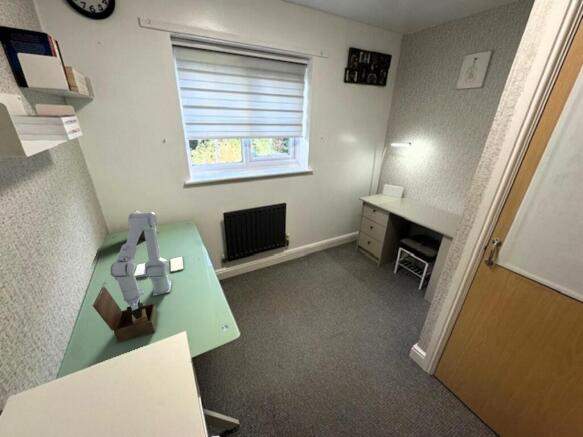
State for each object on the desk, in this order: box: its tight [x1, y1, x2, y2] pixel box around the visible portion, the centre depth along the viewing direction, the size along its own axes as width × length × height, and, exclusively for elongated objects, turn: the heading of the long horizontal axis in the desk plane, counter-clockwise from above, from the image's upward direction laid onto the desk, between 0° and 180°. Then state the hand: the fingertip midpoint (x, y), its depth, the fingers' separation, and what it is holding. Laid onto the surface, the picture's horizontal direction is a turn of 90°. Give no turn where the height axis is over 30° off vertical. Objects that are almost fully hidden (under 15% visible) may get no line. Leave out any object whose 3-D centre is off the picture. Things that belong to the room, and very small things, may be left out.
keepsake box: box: [113, 302, 159, 343], centre depth 102 cm, size 13×11×6 cm
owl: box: [132, 209, 159, 240], centre depth 175 cm, size 13×13×20 cm
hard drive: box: [134, 262, 147, 279], centre depth 139 cm, size 2×8×12 cm
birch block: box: [132, 309, 148, 325], centre depth 103 cm, size 5×5×5 cm
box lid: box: [92, 285, 122, 332], centre depth 95 cm, size 14×11×1 cm
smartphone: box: [169, 256, 184, 273], centre depth 146 cm, size 7×1×15 cm
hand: (138, 311), depth 101 cm, fingers open, 7 cm apart
